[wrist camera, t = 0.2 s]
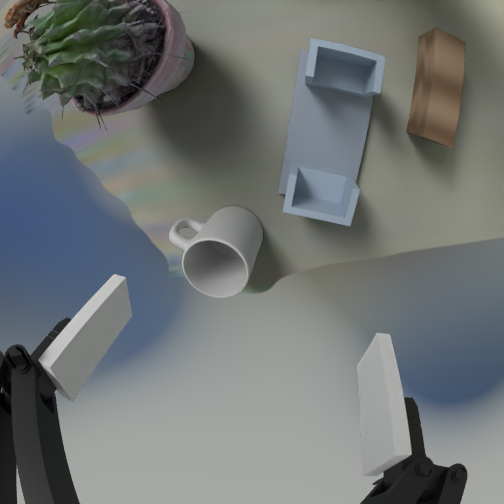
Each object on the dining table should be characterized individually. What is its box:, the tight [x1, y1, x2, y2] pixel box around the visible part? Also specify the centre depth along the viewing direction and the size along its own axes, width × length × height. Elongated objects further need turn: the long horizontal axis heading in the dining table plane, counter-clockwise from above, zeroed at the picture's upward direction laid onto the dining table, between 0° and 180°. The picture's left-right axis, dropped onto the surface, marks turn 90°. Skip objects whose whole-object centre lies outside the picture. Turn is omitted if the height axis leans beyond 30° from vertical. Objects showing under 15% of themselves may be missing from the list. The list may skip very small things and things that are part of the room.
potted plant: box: [4, 0, 195, 130], centre depth 20 cm, size 18×20×25 cm
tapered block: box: [407, 28, 465, 148], centre depth 24 cm, size 15×4×6 cm, turn 173°
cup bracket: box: [278, 38, 385, 226], centre depth 29 cm, size 20×10×9 cm, turn 173°
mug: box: [169, 206, 263, 298], centre depth 37 cm, size 12×8×11 cm
